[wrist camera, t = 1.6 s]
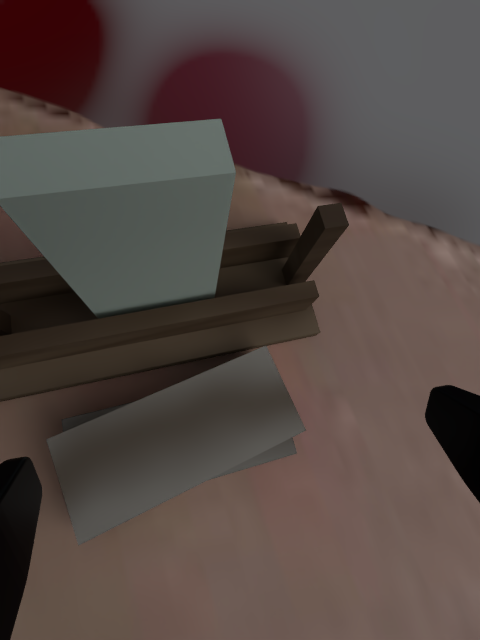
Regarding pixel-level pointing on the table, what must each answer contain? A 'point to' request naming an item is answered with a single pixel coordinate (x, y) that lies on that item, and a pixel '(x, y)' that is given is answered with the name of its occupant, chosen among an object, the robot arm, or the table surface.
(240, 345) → the walnut rack
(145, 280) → the sage panel
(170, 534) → the table surface
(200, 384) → the upper offcut
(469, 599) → the table surface
